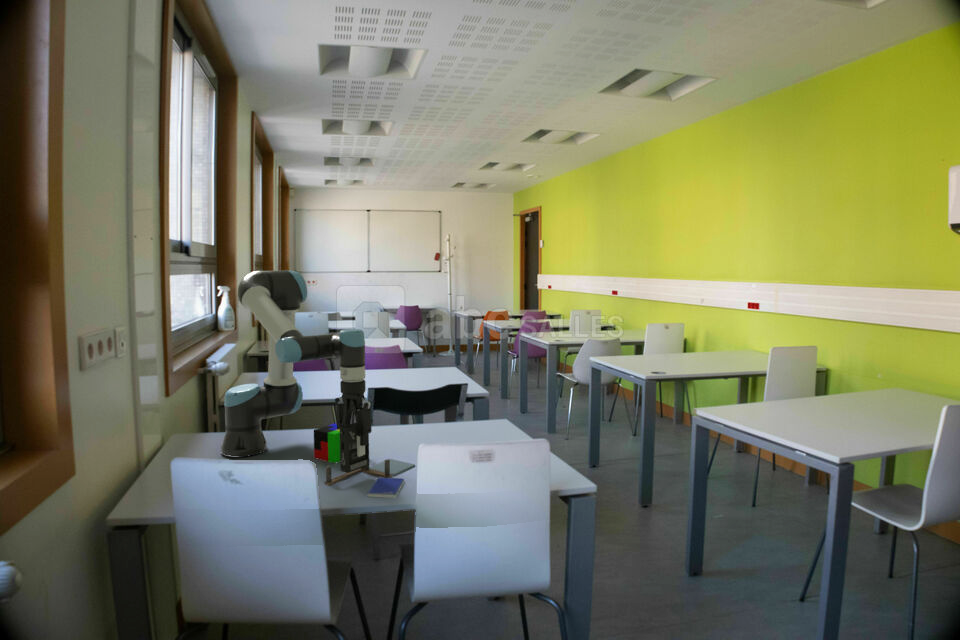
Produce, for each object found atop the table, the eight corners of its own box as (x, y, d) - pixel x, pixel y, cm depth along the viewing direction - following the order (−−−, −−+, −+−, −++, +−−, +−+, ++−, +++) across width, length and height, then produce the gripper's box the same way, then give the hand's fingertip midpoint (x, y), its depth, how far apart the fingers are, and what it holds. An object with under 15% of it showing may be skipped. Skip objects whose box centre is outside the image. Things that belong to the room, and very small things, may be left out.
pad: (367, 469, 188) (367, 468, 187) (389, 460, 197) (389, 458, 197) (393, 476, 182) (393, 474, 182) (415, 465, 191) (415, 464, 191)
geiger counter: (362, 461, 185) (361, 415, 183) (372, 464, 182) (371, 417, 181) (336, 470, 176) (335, 422, 175) (346, 473, 174) (344, 424, 172)
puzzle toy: (335, 450, 207) (334, 423, 207) (356, 455, 202) (355, 427, 201) (314, 458, 199) (313, 430, 198) (335, 463, 194) (334, 434, 193)
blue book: (395, 493, 165) (404, 478, 177) (367, 493, 165) (377, 477, 178) (395, 499, 165) (404, 483, 177) (367, 498, 166) (377, 482, 178)
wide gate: (324, 484, 175) (324, 466, 175) (361, 468, 189) (361, 452, 188) (329, 485, 174) (328, 468, 174) (366, 469, 188) (366, 453, 187)
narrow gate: (387, 478, 180) (386, 461, 179) (362, 472, 185) (362, 455, 185) (391, 476, 182) (391, 459, 181) (367, 470, 187) (366, 454, 186)
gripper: (322, 378, 178) (324, 452, 180) (366, 384, 169) (367, 462, 171) (340, 375, 185) (342, 446, 187) (383, 380, 175) (384, 455, 177)
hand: (354, 453), depth 179 cm, fingers closed on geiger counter, 5 cm apart
